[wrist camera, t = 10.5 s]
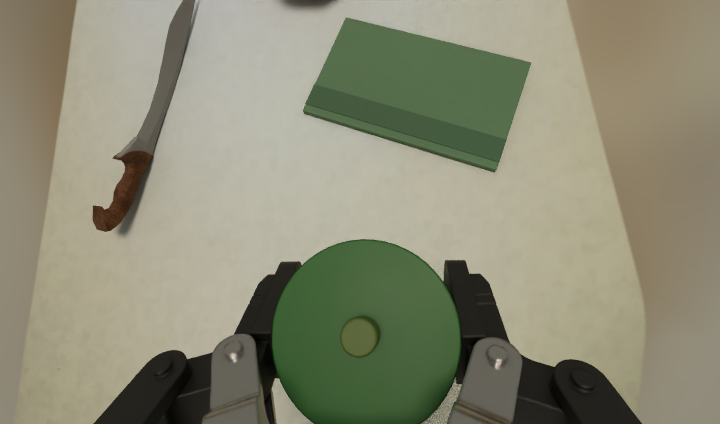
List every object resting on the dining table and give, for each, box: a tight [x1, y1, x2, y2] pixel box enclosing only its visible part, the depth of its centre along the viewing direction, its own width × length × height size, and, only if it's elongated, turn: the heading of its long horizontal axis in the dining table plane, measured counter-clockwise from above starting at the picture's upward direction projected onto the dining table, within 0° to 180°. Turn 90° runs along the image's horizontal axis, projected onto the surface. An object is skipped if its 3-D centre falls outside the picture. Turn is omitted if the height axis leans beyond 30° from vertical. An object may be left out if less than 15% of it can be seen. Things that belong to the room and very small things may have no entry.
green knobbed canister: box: [272, 239, 461, 424], centre depth 13 cm, size 6×6×9 cm
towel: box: [303, 18, 531, 172], centre depth 35 cm, size 20×12×1 cm, turn 68°
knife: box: [93, 0, 195, 232], centre depth 36 cm, size 4×1×30 cm
